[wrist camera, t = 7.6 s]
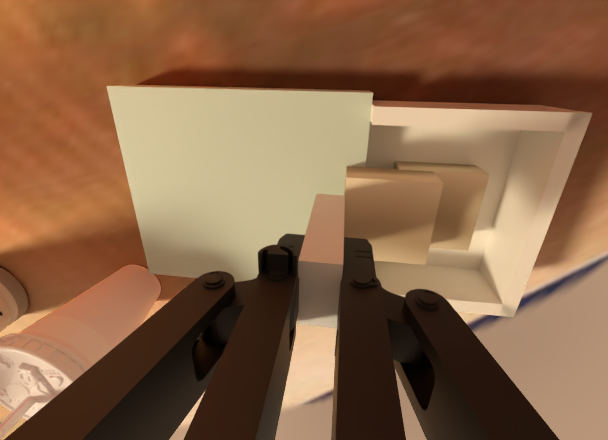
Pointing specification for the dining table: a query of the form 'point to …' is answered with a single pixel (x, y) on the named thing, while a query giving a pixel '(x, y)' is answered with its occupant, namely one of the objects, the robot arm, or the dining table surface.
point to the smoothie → (71, 340)
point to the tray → (497, 198)
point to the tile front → (392, 211)
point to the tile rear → (454, 201)
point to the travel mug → (11, 299)
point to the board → (232, 167)
